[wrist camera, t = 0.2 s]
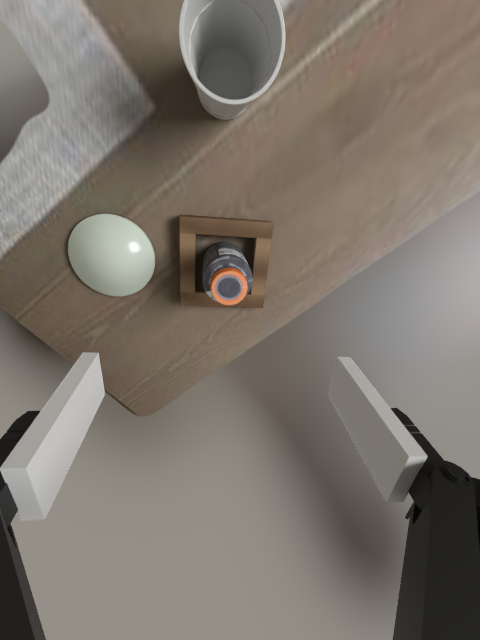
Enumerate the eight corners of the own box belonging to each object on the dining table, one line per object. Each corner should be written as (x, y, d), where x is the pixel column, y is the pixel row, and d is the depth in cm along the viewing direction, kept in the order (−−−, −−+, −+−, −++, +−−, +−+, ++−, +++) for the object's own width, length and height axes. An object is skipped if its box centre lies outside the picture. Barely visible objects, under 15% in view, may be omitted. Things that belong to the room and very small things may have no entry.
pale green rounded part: (63, 210, 36) (60, 211, 35) (153, 216, 37) (152, 217, 37) (77, 292, 41) (75, 294, 40) (157, 295, 42) (156, 297, 41)
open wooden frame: (180, 214, 38) (179, 216, 36) (270, 221, 39) (273, 223, 37) (181, 299, 43) (180, 305, 41) (260, 302, 44) (262, 307, 42)
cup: (233, 144, 35) (244, 127, 24) (175, 94, 32) (158, 52, 21) (274, 77, 32) (306, 26, 22) (214, 18, 30) (218, -74, 19)
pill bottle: (216, 289, 43) (219, 323, 32) (194, 254, 40) (190, 279, 30) (251, 269, 42) (265, 298, 32) (232, 232, 39) (240, 251, 29)
